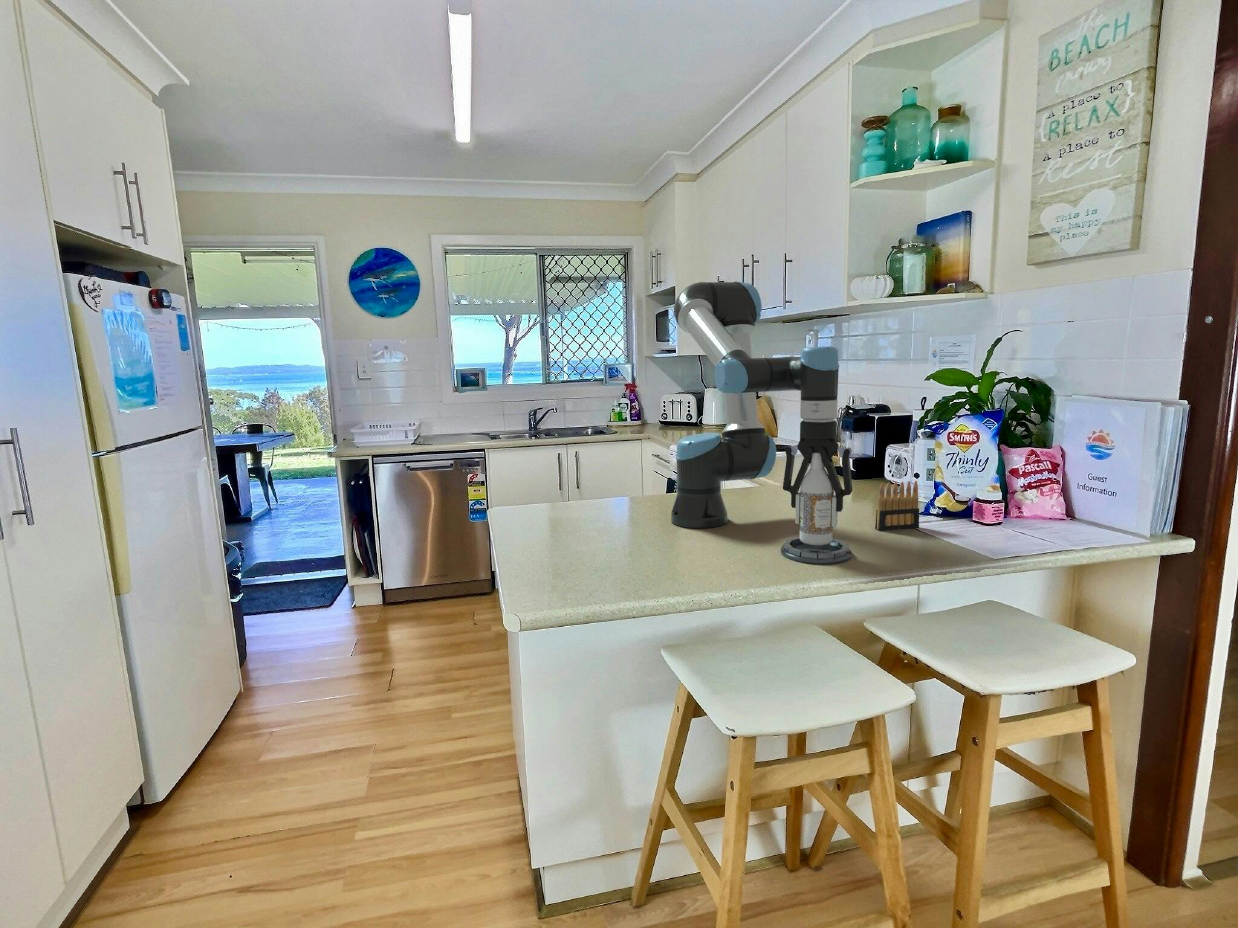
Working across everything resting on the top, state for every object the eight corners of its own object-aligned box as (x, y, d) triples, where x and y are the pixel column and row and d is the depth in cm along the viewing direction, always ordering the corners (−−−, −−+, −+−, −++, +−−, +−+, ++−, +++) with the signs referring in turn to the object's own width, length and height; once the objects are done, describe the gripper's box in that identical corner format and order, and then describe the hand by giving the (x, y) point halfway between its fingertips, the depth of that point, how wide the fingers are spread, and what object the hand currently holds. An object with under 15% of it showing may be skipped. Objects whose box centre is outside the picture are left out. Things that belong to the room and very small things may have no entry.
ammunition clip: (878, 531, 154) (880, 483, 152) (874, 529, 155) (876, 482, 153) (919, 528, 155) (921, 481, 153) (914, 526, 157) (917, 479, 155)
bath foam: (807, 547, 134) (809, 455, 130) (794, 538, 140) (795, 450, 137) (838, 544, 134) (840, 453, 131) (823, 536, 141) (825, 449, 138)
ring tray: (772, 558, 135) (772, 550, 135) (790, 540, 148) (790, 532, 148) (845, 568, 128) (845, 558, 127) (856, 548, 141) (856, 539, 140)
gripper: (767, 420, 135) (766, 523, 138) (865, 422, 125) (861, 533, 129) (776, 417, 141) (775, 515, 145) (870, 419, 131) (866, 524, 135)
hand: (816, 523), depth 137 cm, fingers closed on bath foam, 7 cm apart
